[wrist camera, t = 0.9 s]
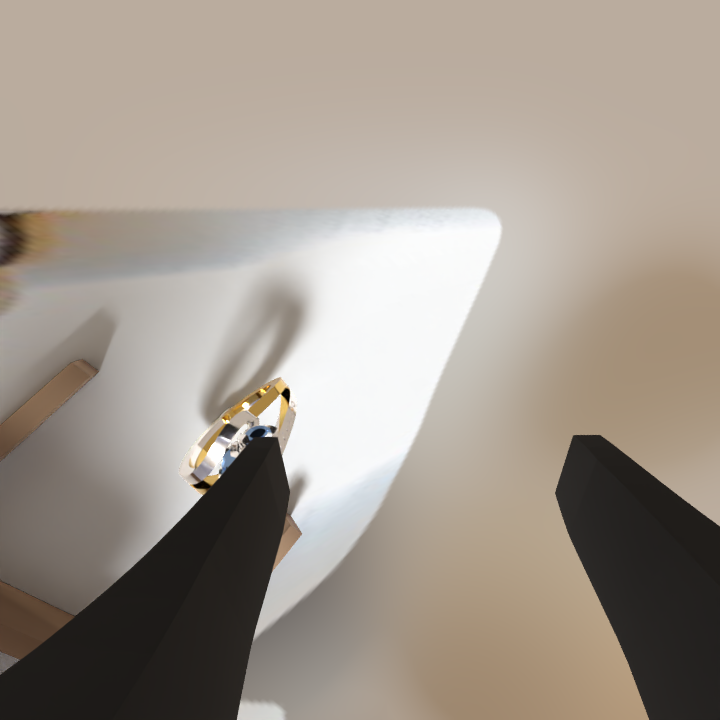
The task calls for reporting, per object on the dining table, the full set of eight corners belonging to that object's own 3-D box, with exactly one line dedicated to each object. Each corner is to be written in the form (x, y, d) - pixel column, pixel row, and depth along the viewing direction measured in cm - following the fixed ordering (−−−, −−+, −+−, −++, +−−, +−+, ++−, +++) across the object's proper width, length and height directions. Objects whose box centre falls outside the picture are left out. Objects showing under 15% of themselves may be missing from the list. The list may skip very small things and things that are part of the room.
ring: (199, 473, 23) (210, 536, 16) (162, 435, 22) (157, 484, 15) (287, 398, 25) (333, 424, 18) (258, 361, 24) (293, 373, 17)
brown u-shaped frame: (159, 678, 23) (158, 715, 21) (-130, 547, 17) (-175, 580, 15) (291, 516, 26) (302, 533, 24) (82, 359, 20) (71, 362, 18)
